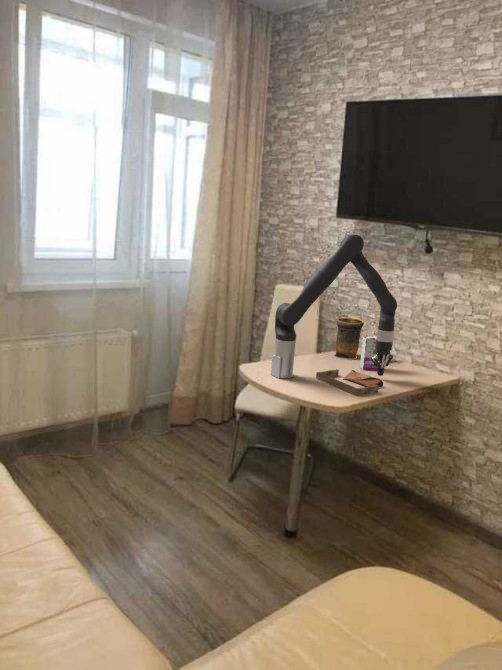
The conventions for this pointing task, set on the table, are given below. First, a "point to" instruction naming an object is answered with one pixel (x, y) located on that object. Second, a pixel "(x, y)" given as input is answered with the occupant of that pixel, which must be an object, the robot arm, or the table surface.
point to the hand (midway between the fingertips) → (380, 375)
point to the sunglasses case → (363, 379)
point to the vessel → (348, 337)
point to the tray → (326, 378)
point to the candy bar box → (368, 353)
